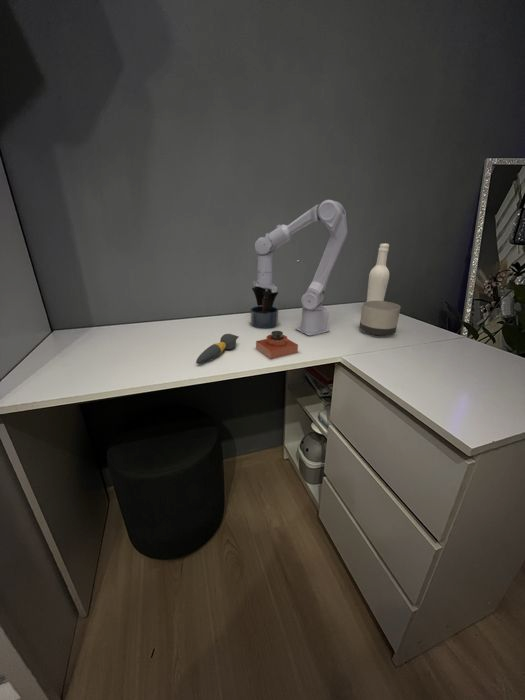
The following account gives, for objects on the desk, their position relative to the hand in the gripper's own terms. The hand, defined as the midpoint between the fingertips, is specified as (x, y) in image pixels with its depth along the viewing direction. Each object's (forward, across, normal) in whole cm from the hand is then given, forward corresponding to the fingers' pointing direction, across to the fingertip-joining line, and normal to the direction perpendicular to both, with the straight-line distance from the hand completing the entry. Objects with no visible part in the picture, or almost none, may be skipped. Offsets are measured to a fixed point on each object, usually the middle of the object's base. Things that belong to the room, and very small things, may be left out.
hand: (264, 307), depth 116 cm
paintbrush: (+7, +18, -27) cm, 33 cm away
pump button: (+3, +25, -10) cm, 27 cm away
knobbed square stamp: (+7, +24, -10) cm, 27 cm away
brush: (+7, 0, 0) cm, 7 cm away
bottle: (+7, +14, +47) cm, 49 cm away
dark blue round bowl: (+7, 0, 0) cm, 7 cm away
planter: (+7, +28, +32) cm, 43 cm away
